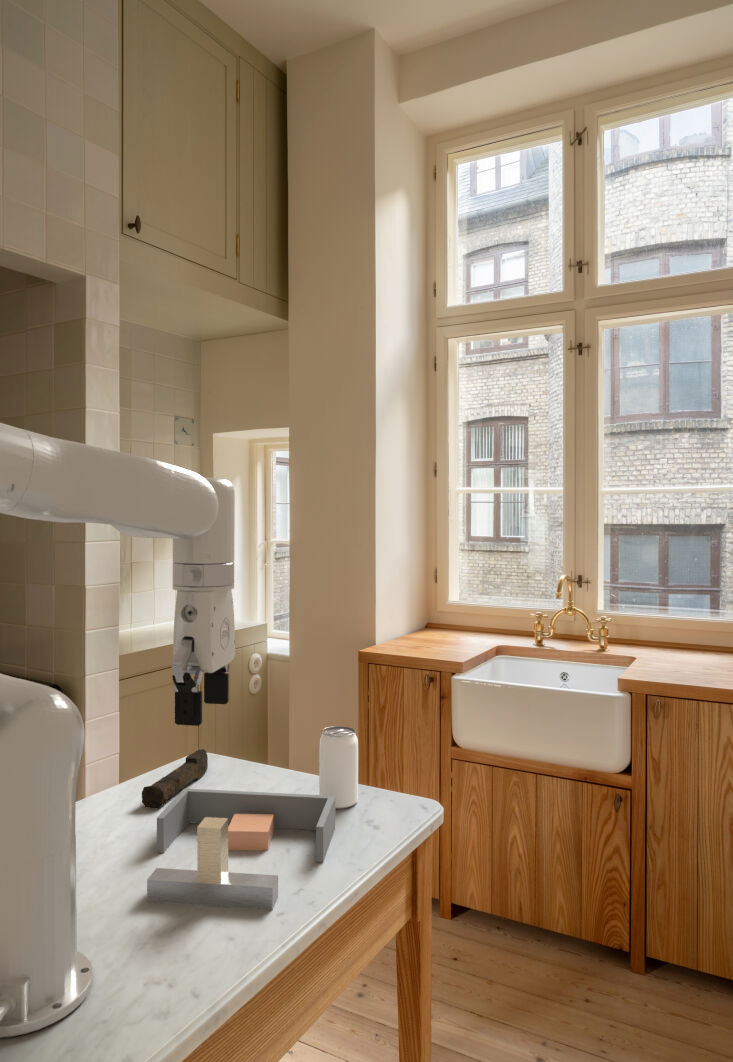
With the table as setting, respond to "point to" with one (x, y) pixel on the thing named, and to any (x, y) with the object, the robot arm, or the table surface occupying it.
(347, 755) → the can
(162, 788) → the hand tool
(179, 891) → the scraper
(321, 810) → the box
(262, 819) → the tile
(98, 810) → the table surface
